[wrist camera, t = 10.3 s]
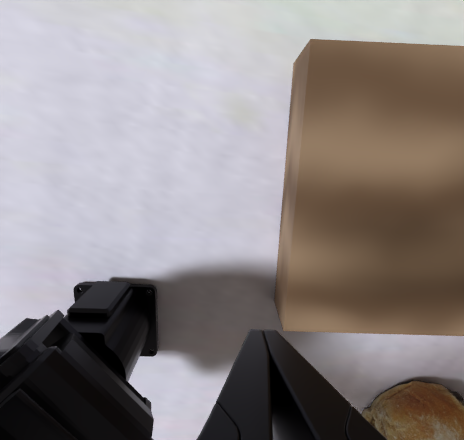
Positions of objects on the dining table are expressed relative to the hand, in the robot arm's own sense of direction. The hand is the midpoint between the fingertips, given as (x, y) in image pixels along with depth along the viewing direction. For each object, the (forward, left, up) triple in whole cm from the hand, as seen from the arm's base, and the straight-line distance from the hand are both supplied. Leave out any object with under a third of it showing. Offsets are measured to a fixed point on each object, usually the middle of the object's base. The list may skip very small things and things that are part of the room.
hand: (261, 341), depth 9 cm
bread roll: (-18, -17, -13) cm, 28 cm away
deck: (+3, -10, -13) cm, 17 cm away
